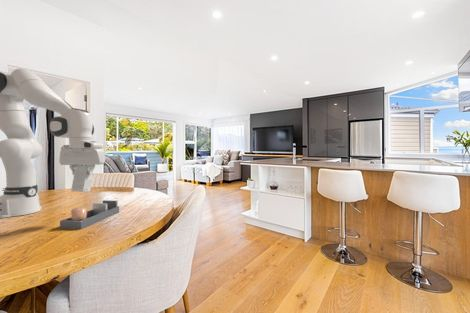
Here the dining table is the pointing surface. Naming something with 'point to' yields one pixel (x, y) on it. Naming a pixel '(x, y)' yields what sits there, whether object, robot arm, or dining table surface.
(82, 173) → the skincare box
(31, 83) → the robot arm
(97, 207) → the plate
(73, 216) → the brown egg
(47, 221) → the dining table surface
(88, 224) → the pusher lane
